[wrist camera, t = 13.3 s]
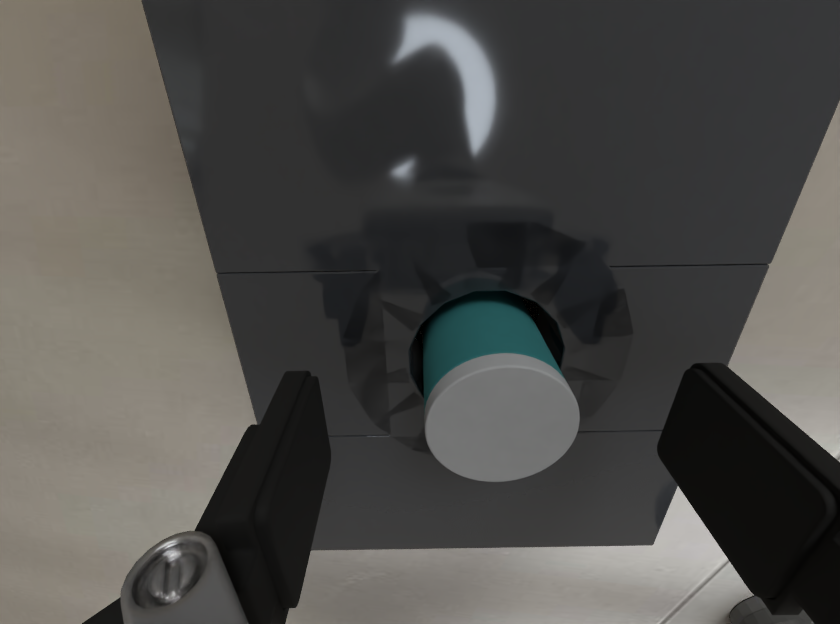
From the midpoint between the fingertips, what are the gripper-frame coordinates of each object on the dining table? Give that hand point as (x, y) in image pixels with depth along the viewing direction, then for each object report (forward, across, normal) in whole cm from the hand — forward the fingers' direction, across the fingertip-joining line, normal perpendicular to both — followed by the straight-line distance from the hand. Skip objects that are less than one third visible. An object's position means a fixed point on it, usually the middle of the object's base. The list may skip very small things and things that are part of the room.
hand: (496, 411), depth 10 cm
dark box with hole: (+6, 0, 0) cm, 6 cm away
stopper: (+6, 0, 0) cm, 6 cm away
